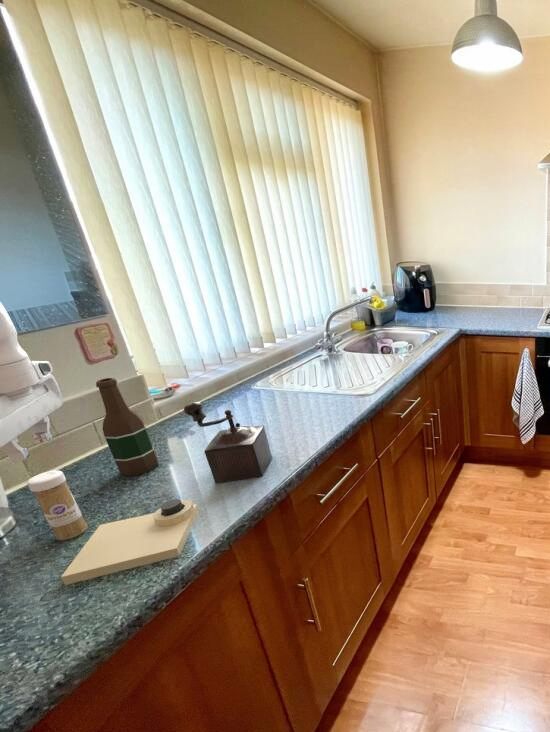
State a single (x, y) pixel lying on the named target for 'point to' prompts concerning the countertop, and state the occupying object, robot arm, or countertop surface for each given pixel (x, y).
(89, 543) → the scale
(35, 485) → the sprinkles bottle
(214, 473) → the manual coffee grinder
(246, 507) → the countertop surface
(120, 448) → the beer bottle
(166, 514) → the button
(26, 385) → the robot arm
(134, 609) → the countertop surface
